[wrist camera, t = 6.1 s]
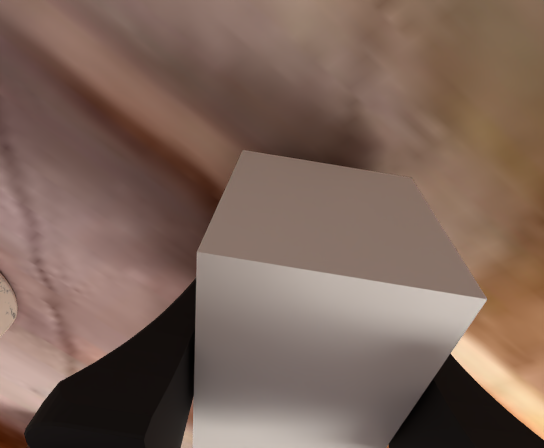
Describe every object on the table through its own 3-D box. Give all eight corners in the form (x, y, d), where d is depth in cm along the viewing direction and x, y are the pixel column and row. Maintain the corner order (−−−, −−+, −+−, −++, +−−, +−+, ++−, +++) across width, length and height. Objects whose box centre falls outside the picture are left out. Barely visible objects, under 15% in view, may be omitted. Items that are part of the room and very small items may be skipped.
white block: (411, 177, 12) (487, 299, 7) (344, 345, 17) (360, 485, 12) (242, 149, 12) (196, 251, 7) (226, 326, 17) (192, 457, 12)
